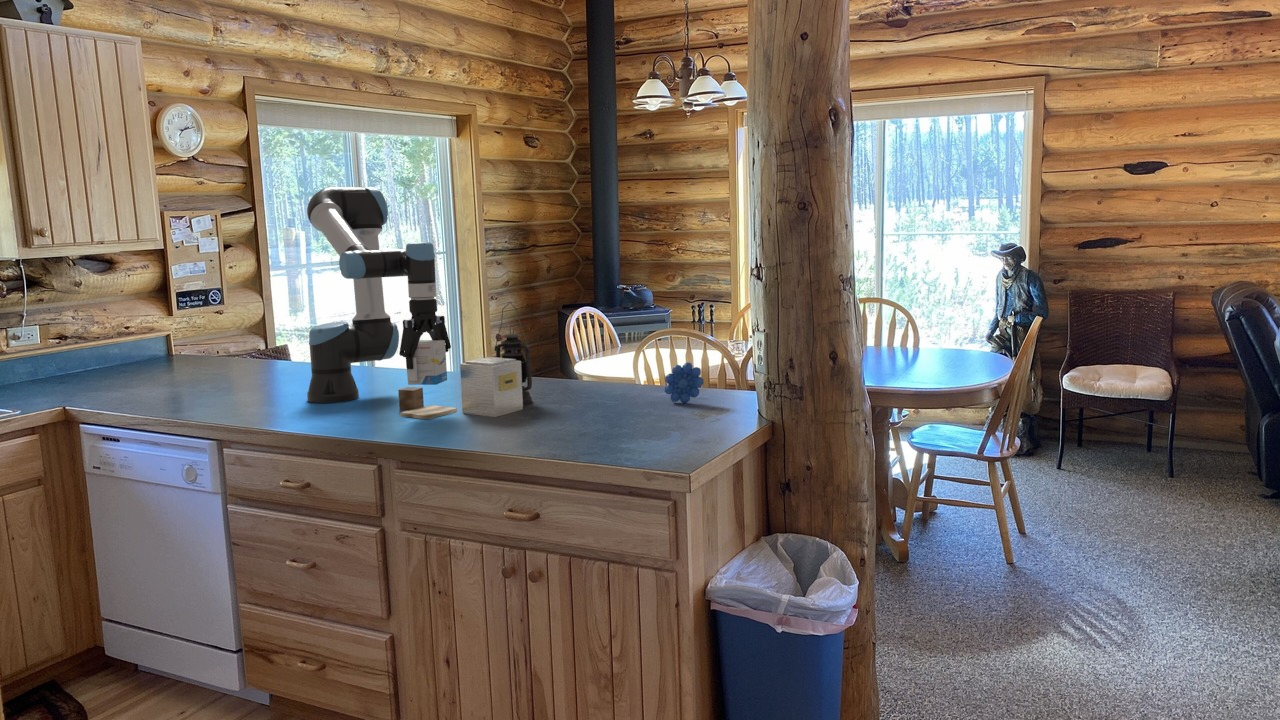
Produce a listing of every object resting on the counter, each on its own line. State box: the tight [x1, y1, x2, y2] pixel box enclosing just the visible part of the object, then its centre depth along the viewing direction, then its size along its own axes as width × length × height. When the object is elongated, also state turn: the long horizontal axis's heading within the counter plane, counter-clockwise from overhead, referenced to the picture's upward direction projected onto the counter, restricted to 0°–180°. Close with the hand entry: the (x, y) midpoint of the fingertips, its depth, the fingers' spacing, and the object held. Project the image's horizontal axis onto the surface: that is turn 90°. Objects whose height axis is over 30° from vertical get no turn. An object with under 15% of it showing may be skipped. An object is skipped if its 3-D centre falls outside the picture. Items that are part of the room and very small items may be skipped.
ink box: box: [406, 339, 448, 386], centre depth 266 cm, size 9×8×12 cm
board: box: [400, 404, 458, 420], centre depth 269 cm, size 10×12×1 cm
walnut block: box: [397, 386, 425, 412], centre depth 276 cm, size 5×5×6 cm
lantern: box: [494, 301, 533, 406], centre depth 280 cm, size 12×11×30 cm
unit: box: [459, 356, 524, 418], centre depth 269 cm, size 12×12×15 cm
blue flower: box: [664, 362, 704, 404], centre depth 276 cm, size 12×7×12 cm, turn 74°
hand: (427, 377), depth 267 cm, fingers closed on ink box, 10 cm apart
